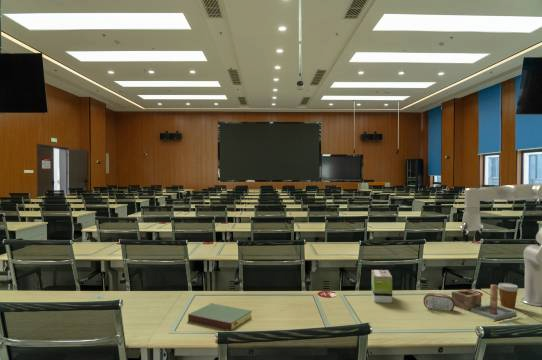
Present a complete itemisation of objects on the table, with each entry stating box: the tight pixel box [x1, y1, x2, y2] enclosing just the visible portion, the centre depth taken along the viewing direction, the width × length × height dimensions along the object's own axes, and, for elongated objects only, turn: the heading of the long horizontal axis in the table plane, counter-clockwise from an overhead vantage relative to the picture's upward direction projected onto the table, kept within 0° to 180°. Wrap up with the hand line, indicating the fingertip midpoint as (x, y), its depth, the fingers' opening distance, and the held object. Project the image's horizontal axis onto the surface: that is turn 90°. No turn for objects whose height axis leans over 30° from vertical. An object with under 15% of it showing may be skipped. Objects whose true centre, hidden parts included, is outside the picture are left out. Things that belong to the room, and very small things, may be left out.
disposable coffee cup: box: [498, 282, 519, 310], centre depth 216 cm, size 10×10×12 cm
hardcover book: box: [187, 303, 253, 331], centre depth 197 cm, size 25×19×4 cm
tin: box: [423, 292, 456, 312], centre depth 211 cm, size 15×3×8 cm, turn 65°
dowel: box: [489, 283, 499, 314], centre depth 205 cm, size 3×3×14 cm
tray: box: [470, 304, 517, 323], centre depth 205 cm, size 16×13×2 cm
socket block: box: [451, 289, 482, 312], centre depth 215 cm, size 10×10×8 cm
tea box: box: [371, 269, 393, 304], centre depth 231 cm, size 15×10×15 cm, turn 172°
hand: (471, 240), depth 228 cm, fingers open, 9 cm apart
